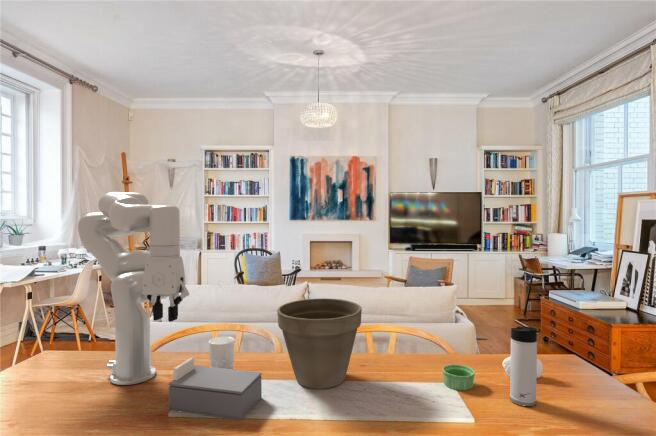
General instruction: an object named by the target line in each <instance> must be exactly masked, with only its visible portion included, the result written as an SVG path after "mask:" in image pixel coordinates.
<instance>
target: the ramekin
mask: <svg viewBox="0 0 656 436" xmlns="http://www.w3.org/2000/svg"><path fill="white" fill-rule="evenodd" d="M441 371H442V375H443V384H444V386H446V387H447V388H449V389H451V390H455V391H461V392H462V391H464V392H465V391H469V390H471V389H473V387H474V379H475V378H474V377H475V373H476V371H475V370H474V369H473V368H472V367H470V366H467V365H462V364H446V365H444V366H443V367H442V370H441Z"/></svg>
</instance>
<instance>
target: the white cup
mask: <svg viewBox="0 0 656 436" xmlns="http://www.w3.org/2000/svg"><path fill="white" fill-rule="evenodd" d="M235 341H236V340H235V337H233V336H230V335H229V336H228V335H227V336H225V335H224V336H222V335H221V336H216V337H215V336H214V337H212V338H210V339H209V340H208V356H209V358H208V359H209V367H214V368H223V369H233V370H234V361H235V360H234V359H235Z"/></svg>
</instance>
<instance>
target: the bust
mask: <svg viewBox="0 0 656 436" xmlns="http://www.w3.org/2000/svg"><path fill="white" fill-rule="evenodd" d="M510 347H511V344H510ZM510 361H511V355H510V356H508V357H505V359H503V361H502V367H503V369H504V371H505V373H506V374H505V375H506V377H508V378H510ZM543 368H544V366H543V362H542V361H541V359H539V358H537V378H536V379H539V378H541V376H542V375H543V373H544V372H543Z"/></svg>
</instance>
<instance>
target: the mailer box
mask: <svg viewBox="0 0 656 436" xmlns="http://www.w3.org/2000/svg"><path fill="white" fill-rule="evenodd" d="M262 387H263V386H262V375H261V376H260V377H259V378H258V379H257V380H256V381H255V382H254V383H253V384H252V385H251V386H249V387H248V388H247V389H246V390H245V391H244V392H243V393H242V394H236V393H228V392H219V391H211V390H202V389H194V388H185V387H177V386H169V385H168V410H169V411H173V412H179V411H181V413H186V412H187V413H188V414H194V415H195V414H196V415H201V416H202V415H203V416H211V417H218V418H225V419H230V420H231V419H233V420H239V421H240V420H241V421H243V419H244V418H246V416H247V415H248V414H249V412H251V410H253V408H254V407H255V406H256V405H257V404H258V403H259V401H260V400H261V399H262V398H263V397H262V393H263V392H262Z"/></svg>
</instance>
